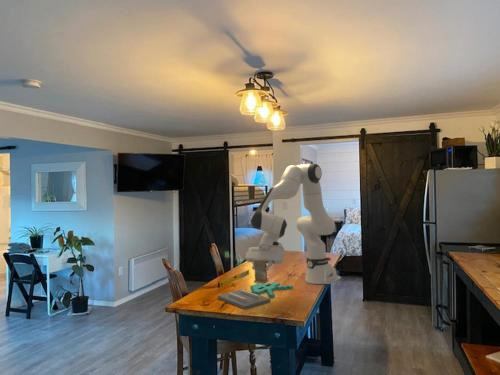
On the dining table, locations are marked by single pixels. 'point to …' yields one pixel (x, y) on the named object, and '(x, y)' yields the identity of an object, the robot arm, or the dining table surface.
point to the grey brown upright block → (260, 271)
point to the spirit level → (233, 278)
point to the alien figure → (268, 288)
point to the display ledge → (244, 299)
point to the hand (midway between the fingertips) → (259, 269)
